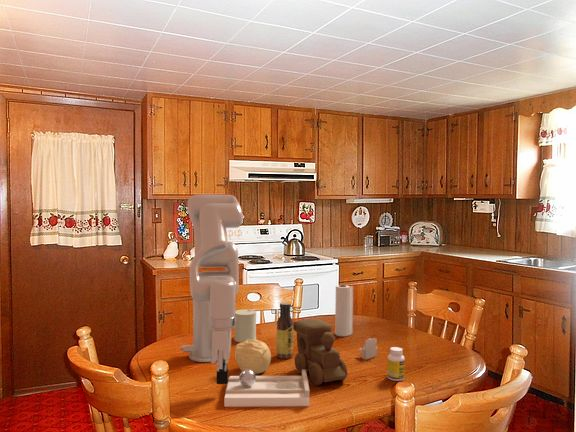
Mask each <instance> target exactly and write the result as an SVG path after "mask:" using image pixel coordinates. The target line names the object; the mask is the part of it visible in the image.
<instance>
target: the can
mask: <svg viewBox="0 0 576 432" xmlns="http://www.w3.org/2000/svg"><path fill="white" fill-rule="evenodd" d="M247 339H248V340H257V311H256V310H254V309H247V308H246V309H244V308H243V309H239V310H238V309H237V310H235V328H234V338H233V340H234V341H235V342H237V343H242V342H244V341H246V340H247Z"/></svg>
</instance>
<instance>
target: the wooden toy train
mask: <svg viewBox="0 0 576 432" xmlns="http://www.w3.org/2000/svg"><path fill="white" fill-rule="evenodd" d="M292 322H293V331H295V332H296V347H297V353H296V354H295V356H294V367H295V369H296V371H297V373H298V374H300V375H302V370H306V372H307V371H308V374H309V378H310V380H311V383H312V384H314V386H317V387H318V386H321V384H323V382H324V383H327V382H329V383H330V382H333V381H341V382H342V381H345V379H346V378H347V377H348V368H347V365H346V364H347V363H346V362H345V361H344V359H341V355H340V351H338V350H337V349H336V348H334V347H333V345H334V343H335V340H336V337H335V336H334V334H333V332H332V325H331V324H330V323H329V322H326V321H324V320H322V319H319V318H309V319H301V320H296V321H292Z"/></svg>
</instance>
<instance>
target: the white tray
mask: <svg viewBox="0 0 576 432" xmlns="http://www.w3.org/2000/svg"><path fill="white" fill-rule="evenodd" d="M239 376H240V375H230V376H228V383H227V385H226V388H225V395H224V401H223V402H224V406H223V407H227V408H228V407H229V408H230V407H233V408H234V407H238V408H239V407H241V408H243V407H246V408H247V407H249V408H250V407H310V393H311V392H310V386H309V379H308V375H307V371H306V370H302V374H301V375H256V380H255V383H254V384H253V385H252V386H250V387H245V386H243V385H242V384H241V383H240V381H239Z"/></svg>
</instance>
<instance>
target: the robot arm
mask: <svg viewBox="0 0 576 432" xmlns="http://www.w3.org/2000/svg"><path fill="white" fill-rule="evenodd" d="M187 213H188V215H189V216H188V217H189V219H190V222H191V224H192V228H193V232H194V233H193V236H194V242H193V243H194V247H193V248H194V256H193V258H192V260H191V263H190V266H189V292H190V296H191V298H192V307H193V310H192V311H193V313H192V314H193V320H192V321H193V322H192V323H193V328H192V329H193V330H192V331H193V334H192V335H193V343H192V344H189V345H186V344H183V345H181V351H182V352H183V353H188V352H189V354H188V358H189V360H191V361H193V362H198V363H211V364H215V363H216V384H217V385H228V381H229V368H228V364H229V361H230V356H231V350H232V330H233V329H235V311H236V295H237V294H238V293H239V289H240V288H239V286H240V275H239V274H240V273H239V270H240V269H239V250H238V248H237V247H238V246H237V245H236V244H235V243H234V242H232V241H228V234H227V229H229V228H230V229H233V228H234V229H235V228H236V229H237V228H240V227H241V226H242V223H243V217H244V216H243V210H242V207H241V204H240V203H239V201H238V200H237V197H236V196H235V195H232V194H213V193H209V194H208V193H206V194H205V193H204V194H203V193H202V194H194V195H192V196H190V197H189V198H188V200H187ZM199 268H202V269H203V268H204V269H205V268H207V269H208V268H210V269H211V268H225V270H207V271H199Z"/></svg>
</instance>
